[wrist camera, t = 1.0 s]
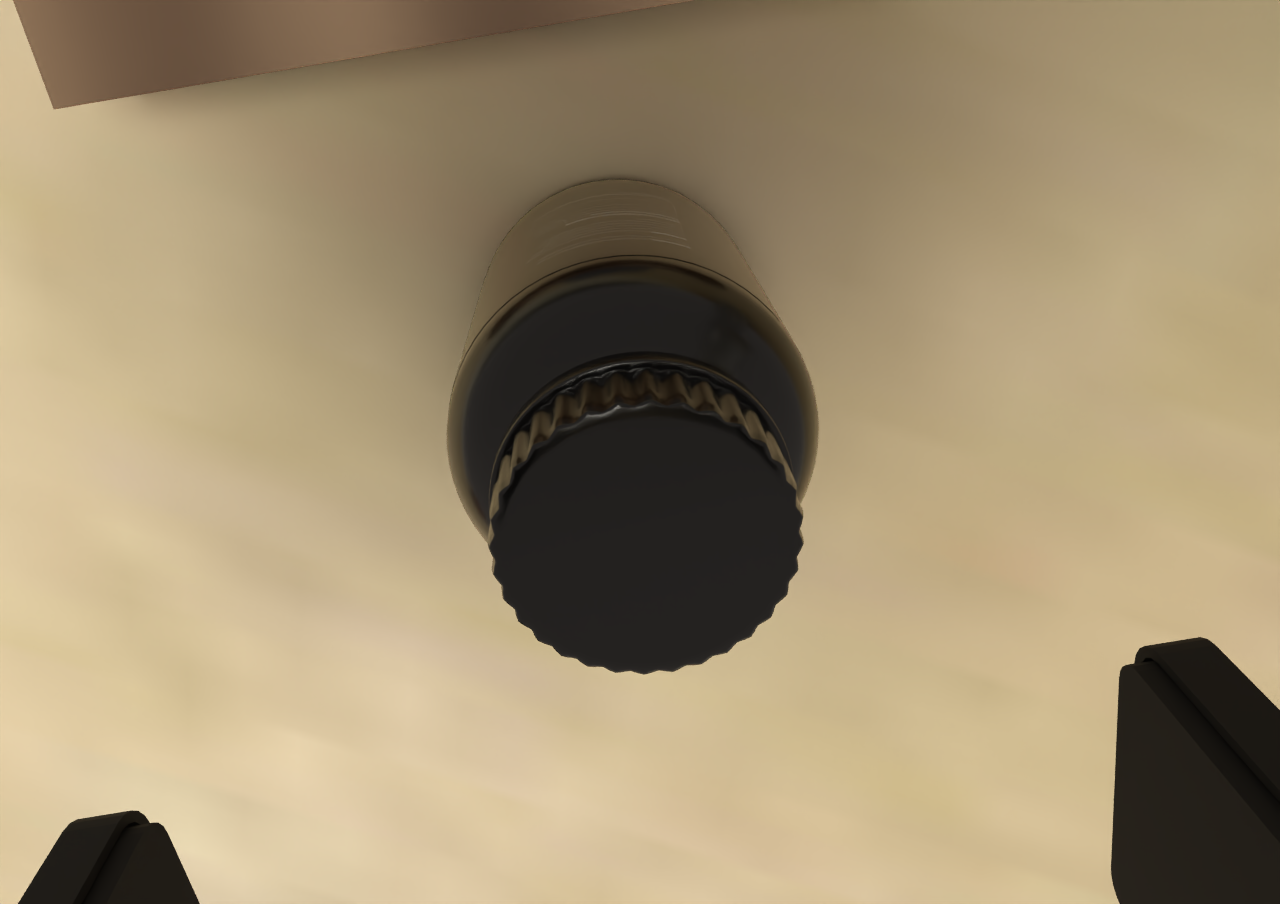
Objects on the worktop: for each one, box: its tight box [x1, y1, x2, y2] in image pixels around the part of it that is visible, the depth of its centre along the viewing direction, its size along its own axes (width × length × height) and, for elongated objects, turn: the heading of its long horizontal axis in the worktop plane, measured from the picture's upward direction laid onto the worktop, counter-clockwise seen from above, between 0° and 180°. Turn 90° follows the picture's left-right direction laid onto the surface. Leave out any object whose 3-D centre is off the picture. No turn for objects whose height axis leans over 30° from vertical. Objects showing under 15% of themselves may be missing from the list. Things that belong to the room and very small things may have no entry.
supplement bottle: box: [447, 179, 819, 674], centre depth 21 cm, size 7×7×12 cm
